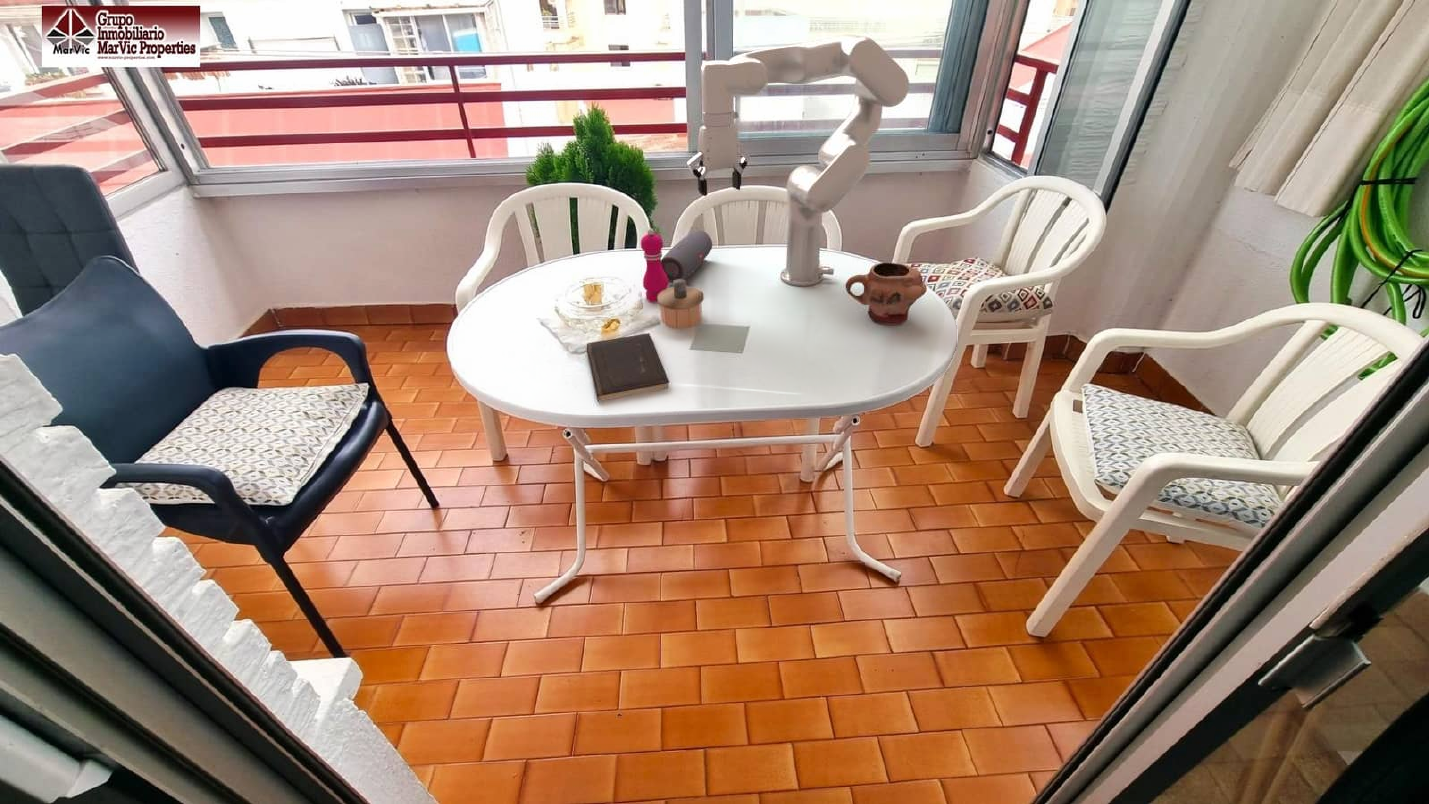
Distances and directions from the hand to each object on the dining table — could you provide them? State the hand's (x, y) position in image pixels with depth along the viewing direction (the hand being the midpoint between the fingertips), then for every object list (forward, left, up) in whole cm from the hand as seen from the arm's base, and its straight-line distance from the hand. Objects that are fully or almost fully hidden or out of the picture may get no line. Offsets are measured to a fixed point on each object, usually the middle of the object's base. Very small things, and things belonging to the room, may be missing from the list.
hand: (720, 191), depth 150 cm
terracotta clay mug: (-44, +11, -28) cm, 54 cm away
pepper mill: (+18, +6, -28) cm, 34 cm away
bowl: (+8, +18, -28) cm, 34 cm away
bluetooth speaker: (+13, -12, -29) cm, 34 cm away
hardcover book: (+16, +43, -29) cm, 54 cm away
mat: (-4, +27, -28) cm, 39 cm away
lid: (+8, +18, -22) cm, 30 cm away
